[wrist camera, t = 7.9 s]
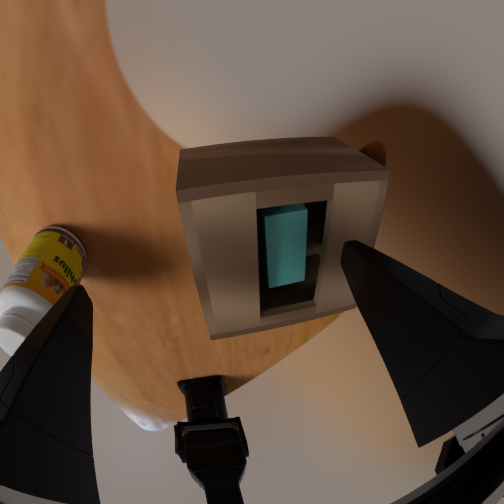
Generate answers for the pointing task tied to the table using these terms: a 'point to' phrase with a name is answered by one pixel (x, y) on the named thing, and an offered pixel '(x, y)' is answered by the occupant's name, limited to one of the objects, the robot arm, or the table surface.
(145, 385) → the table surface
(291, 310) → the wooden box
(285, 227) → the teal block
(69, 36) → the table surface
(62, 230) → the supplement bottle
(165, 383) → the table surface
